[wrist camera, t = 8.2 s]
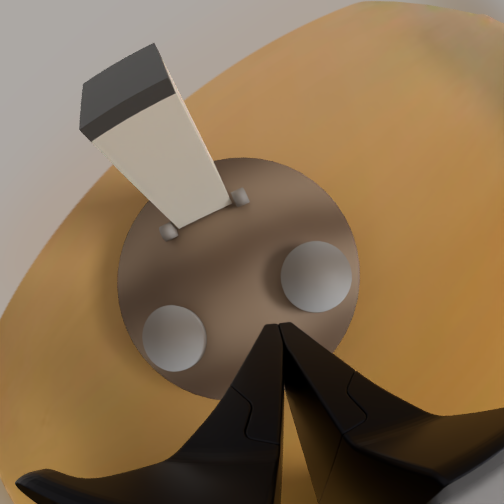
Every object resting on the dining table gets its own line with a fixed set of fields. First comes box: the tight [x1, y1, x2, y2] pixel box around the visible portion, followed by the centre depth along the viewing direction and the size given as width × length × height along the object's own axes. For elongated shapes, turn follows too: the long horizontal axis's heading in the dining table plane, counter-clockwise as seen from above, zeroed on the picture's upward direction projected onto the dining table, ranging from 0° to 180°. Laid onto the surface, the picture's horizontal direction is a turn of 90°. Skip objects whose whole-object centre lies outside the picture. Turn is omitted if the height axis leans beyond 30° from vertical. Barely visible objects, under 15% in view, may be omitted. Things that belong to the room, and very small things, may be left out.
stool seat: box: [117, 158, 360, 400], centre depth 17 cm, size 15×15×4 cm
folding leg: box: [79, 43, 232, 229], centre depth 13 cm, size 4×4×10 cm
